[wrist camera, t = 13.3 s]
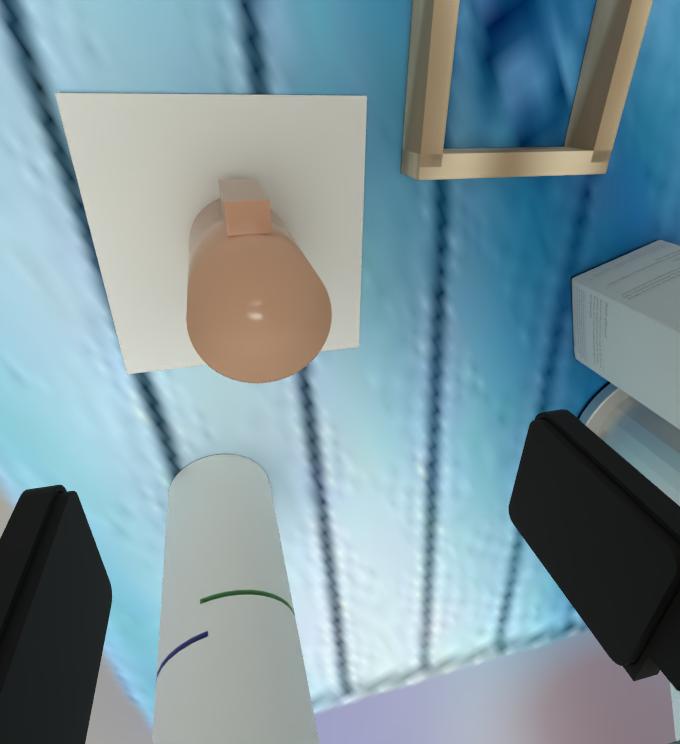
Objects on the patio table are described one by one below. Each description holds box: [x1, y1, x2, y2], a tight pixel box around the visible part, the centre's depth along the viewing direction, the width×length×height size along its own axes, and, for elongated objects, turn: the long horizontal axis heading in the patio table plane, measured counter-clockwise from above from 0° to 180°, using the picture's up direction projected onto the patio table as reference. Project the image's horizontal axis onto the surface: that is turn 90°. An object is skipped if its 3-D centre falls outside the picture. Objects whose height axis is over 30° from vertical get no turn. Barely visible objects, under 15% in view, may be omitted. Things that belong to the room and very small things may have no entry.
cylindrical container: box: [152, 454, 319, 744], centre depth 24 cm, size 7×7×25 cm
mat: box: [55, 93, 367, 374], centre depth 26 cm, size 14×14×1 cm
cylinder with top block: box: [186, 179, 332, 383], centre depth 21 cm, size 5×6×10 cm
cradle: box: [401, 0, 653, 180], centre depth 24 cm, size 11×11×2 cm
